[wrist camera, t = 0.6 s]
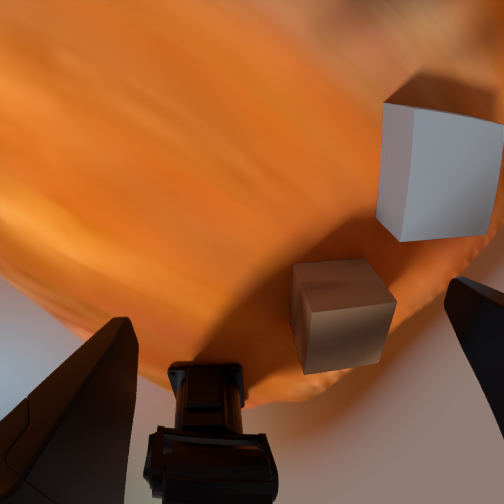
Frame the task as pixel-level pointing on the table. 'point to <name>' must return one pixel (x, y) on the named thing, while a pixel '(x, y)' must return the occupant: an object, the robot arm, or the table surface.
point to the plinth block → (437, 173)
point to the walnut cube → (339, 314)
